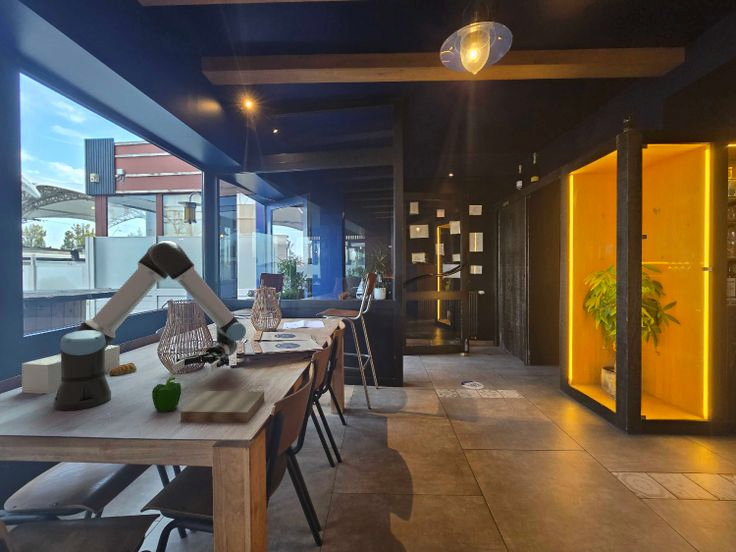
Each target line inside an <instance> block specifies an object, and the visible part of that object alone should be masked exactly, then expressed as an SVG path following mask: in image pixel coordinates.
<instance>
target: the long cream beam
mask: <svg viewBox="0 0 736 552" xmlns="http://www.w3.org/2000/svg"><path fill="white" fill-rule="evenodd" d="M120 349H121V346H120V345H110V344H109V345H108V346H107V348H106V349H105V375H106V373H107V374H110V373H109V372H110V371H111V370H113V369H114V368H117V367H119V366H120V365H121V364H120V363H121V362H120V360H121V359H120V358H121V357H120V355H121V354H120V352H121V351H120ZM60 384H61V353H58V354H56V355H52V356H48V357H43V358H39V359H35V360H30V361H27V362H22V363H21V393H29V394H42V393H47V394H46V395H48V394H51V393H55V392H58V389H59V387H60ZM54 391H55V392H54Z"/></svg>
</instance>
